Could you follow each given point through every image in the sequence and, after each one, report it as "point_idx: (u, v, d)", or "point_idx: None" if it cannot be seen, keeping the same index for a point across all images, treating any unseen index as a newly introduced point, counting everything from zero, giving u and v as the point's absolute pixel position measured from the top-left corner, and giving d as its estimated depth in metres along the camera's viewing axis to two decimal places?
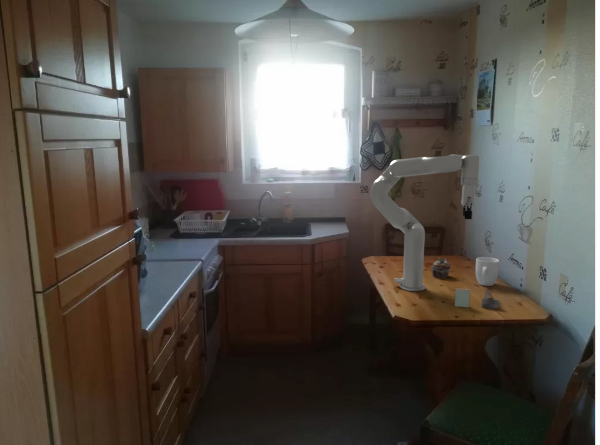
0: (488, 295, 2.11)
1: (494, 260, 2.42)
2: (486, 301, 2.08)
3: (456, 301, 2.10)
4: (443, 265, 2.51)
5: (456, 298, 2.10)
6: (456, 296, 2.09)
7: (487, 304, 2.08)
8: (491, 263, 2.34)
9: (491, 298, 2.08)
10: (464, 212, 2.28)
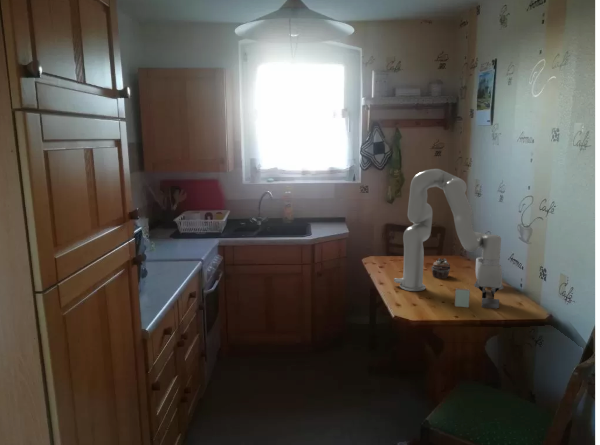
0: (488, 295, 2.11)
1: None
2: (486, 301, 2.08)
3: (456, 301, 2.10)
4: (443, 265, 2.51)
5: (456, 298, 2.10)
6: (456, 296, 2.09)
7: (487, 304, 2.08)
8: None
9: (491, 298, 2.08)
10: (485, 297, 2.16)
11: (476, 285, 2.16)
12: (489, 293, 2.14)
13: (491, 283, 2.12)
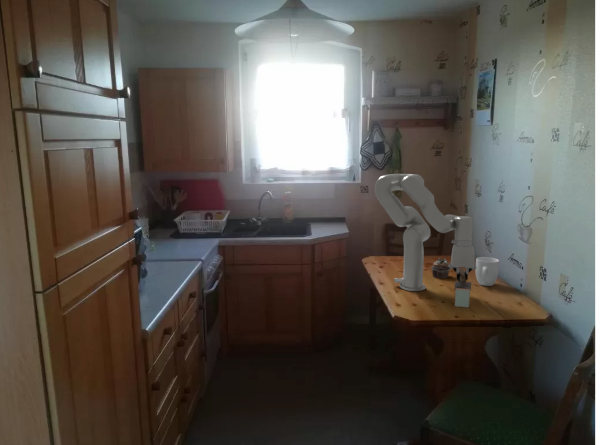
0: (461, 277, 2.19)
1: (494, 260, 2.42)
2: (459, 284, 2.16)
3: (456, 301, 2.10)
4: (443, 265, 2.51)
5: (456, 298, 2.10)
6: (456, 296, 2.09)
7: (460, 287, 2.17)
8: (491, 263, 2.34)
9: (463, 281, 2.16)
10: None
11: (450, 266, 2.22)
12: (462, 274, 2.21)
13: (464, 263, 2.18)
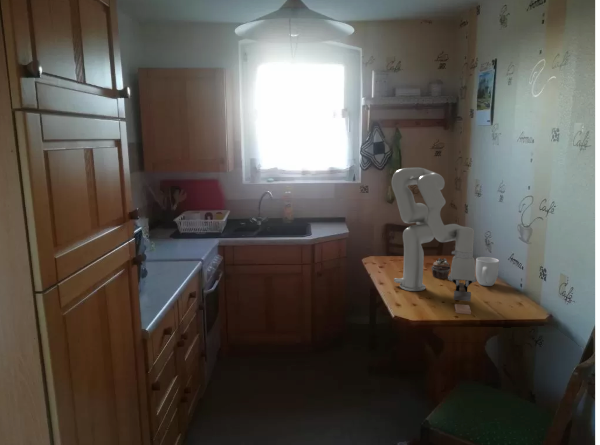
0: (460, 287, 2.12)
1: (494, 260, 2.42)
2: (458, 293, 2.09)
3: None
4: (443, 265, 2.51)
5: None
6: None
7: (459, 296, 2.09)
8: (491, 263, 2.34)
9: (463, 290, 2.09)
10: None
11: (450, 278, 2.14)
12: (462, 286, 2.14)
13: (464, 276, 2.10)
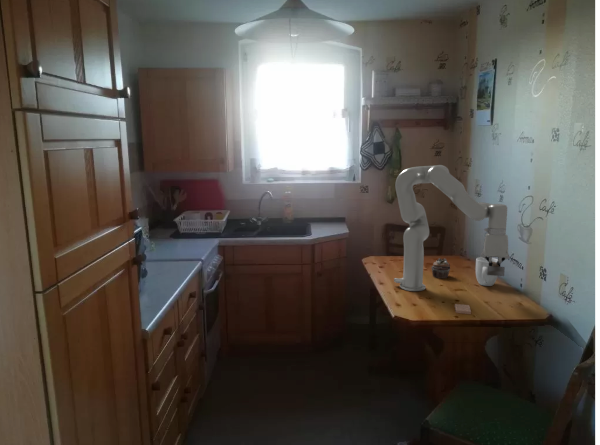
0: (493, 264, 2.14)
1: (494, 260, 2.42)
2: (491, 268, 2.10)
3: None
4: (443, 265, 2.51)
5: None
6: None
7: (493, 271, 2.10)
8: None
9: (496, 265, 2.11)
10: None
11: (482, 255, 2.15)
12: (494, 263, 2.16)
13: (497, 252, 2.11)
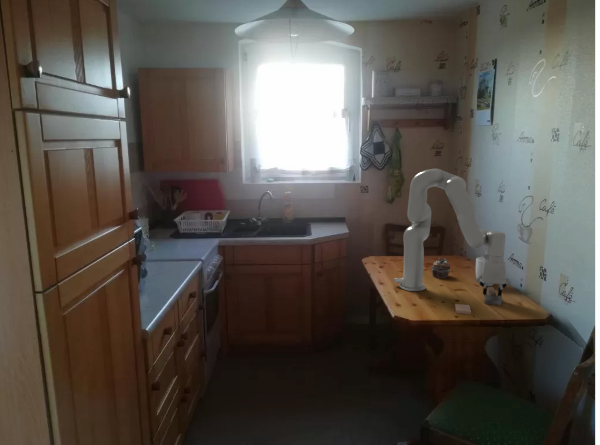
0: (491, 292, 2.16)
1: None
2: (489, 297, 2.13)
3: None
4: (443, 265, 2.51)
5: None
6: None
7: (490, 300, 2.13)
8: None
9: (494, 294, 2.13)
10: (486, 293, 2.17)
11: (478, 280, 2.18)
12: (492, 290, 2.18)
13: (495, 279, 2.13)
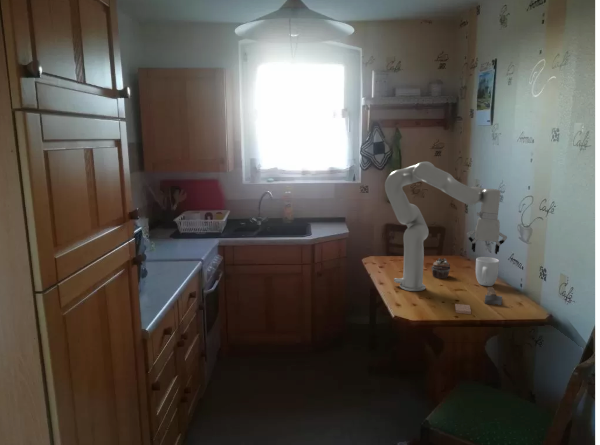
0: (491, 292, 2.16)
1: (494, 260, 2.42)
2: (489, 297, 2.13)
3: None
4: (443, 265, 2.51)
5: None
6: None
7: (490, 300, 2.13)
8: (491, 263, 2.34)
9: (494, 294, 2.13)
10: None
11: (468, 234, 2.18)
12: (492, 290, 2.18)
13: (488, 237, 2.13)
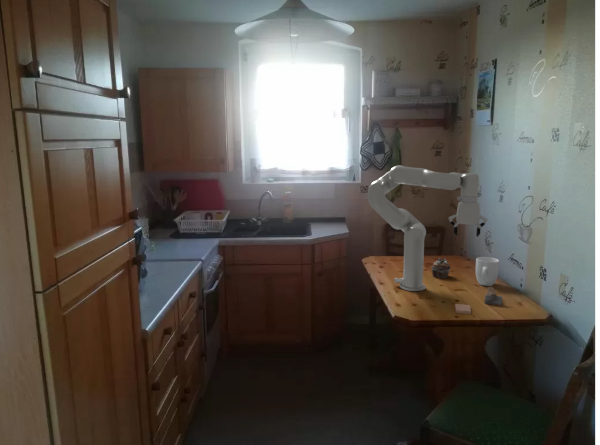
0: (491, 292, 2.16)
1: (494, 260, 2.42)
2: (489, 297, 2.13)
3: None
4: (443, 265, 2.51)
5: None
6: None
7: (490, 300, 2.13)
8: (491, 263, 2.34)
9: (494, 294, 2.13)
10: None
11: (450, 218, 2.24)
12: (492, 290, 2.18)
13: (469, 220, 2.20)
